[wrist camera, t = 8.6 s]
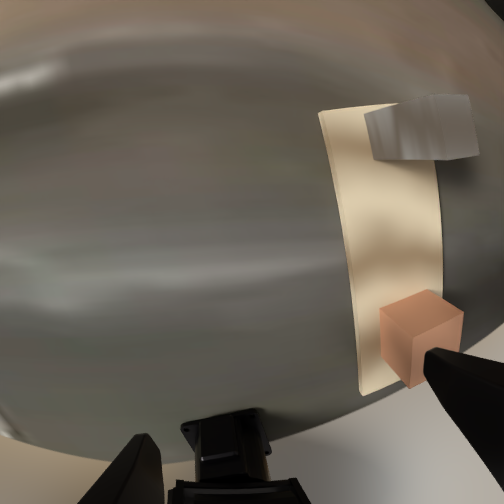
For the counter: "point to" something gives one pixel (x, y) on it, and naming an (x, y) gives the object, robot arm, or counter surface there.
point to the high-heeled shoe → (497, 6)
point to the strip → (392, 205)
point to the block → (417, 332)
